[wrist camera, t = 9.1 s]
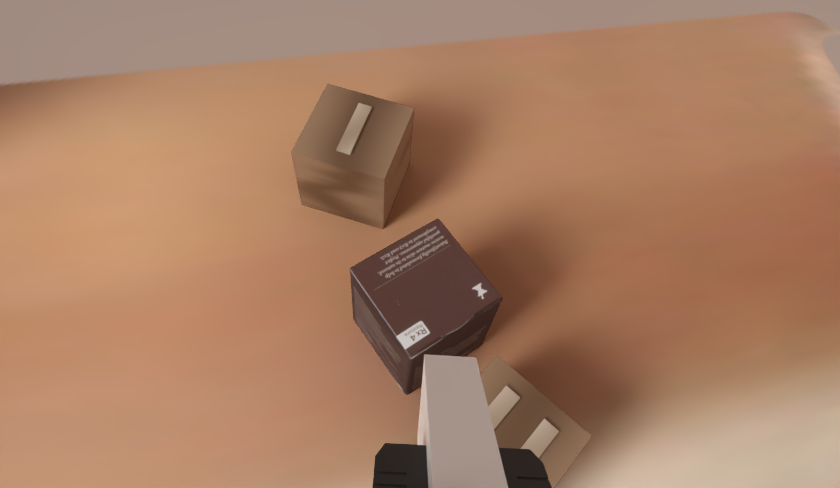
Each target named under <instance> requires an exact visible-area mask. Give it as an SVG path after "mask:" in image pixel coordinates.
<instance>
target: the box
mask: <svg viewBox="0 0 840 488" xmlns="http://www.w3.org/2000/svg"><path fill="white" fill-rule="evenodd" d="M350 274H351V290H352V303H353V318H354V321H355V322H356V324H357V325H358V327H359V328H360V329H361V331H362V332H363V334H364V335H365V337H366V338H367V340H368V341H369V342H370V344H371V345H372V347H373V348H374V350H375V351H376V353H377V354H378V355H379V357H380V358H381V360H382V361H383V363H384V364H385V366H386V367H387V369H388V370H389V372H390V373H391V375H392V376H393V377H394V379H395V381H396V382H397V384H398V385H399V387H400V388H401V389H402V391H403V392H404V393H405V394H406V395H407V394H409V393H411V392H412V391H414V390H415V389H417V388H418V387H420V386H421V385H422V376H423V364H424V354H427V355H444V356H461V357H464V356H466V355H467V354H469V353H470V352H472V351H473V350H475V349H476V348H478V347H479V346H481V345H482V343H483V341H484V338H485V336H486V334H487V332H488V330H489V328H490V325H491V323H492V321H493V318H494V316H495V314H496V312H497V310H498V307H499V304H500V302H501V301H502V296H501V295H500V294H499V293H498V292H497V290H496V289H495V288H494V287H493V285H492V284H491V283H490V282H489V280H488V279H487V278H486V277H485V276H484V274H483V273H482V272H481V271H480V269H479V268H478V267H477V266H476V265H475V263H474V262H473V261H472V260H471V258H470V257H469V256H468V255H467V253H466V252H465V251H464V250H463V248H462V247H461V246H460V244H459V243H458V242H457V241H456V239H455V238H454V237H453V236H452V235H451V233H450V232H449V231H448V229H447V228H446V227H445V226H444V225H443V223H442V222H441V221H440V220H439V219H436V220H434V221H432V222H430V223H429V224H427V225H425V226H423V227H421V228H420V229H418V230H416V231H414V232H412V233H411V234H409V235H407V236H405V237H404V238H402V239H400V240H398V241H397V242H395V243H393V244H391V245H389V246H388V247H386V248H384V249H383V250H381V251H379V252H377V253H376V254H374V255H372V256H370V257H368V258H367V259H365V260H363V261H361V262H360V263H358V264H356V265H355V266H353V267H351V268H350Z"/></svg>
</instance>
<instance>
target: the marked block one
mask: <svg viewBox="0 0 840 488" xmlns="http://www.w3.org/2000/svg"><path fill="white" fill-rule="evenodd" d="M413 116H414V108H412V107H409V106H405V105H402V104H398V103H394V102H391V101H387V100H384V99H380V98H377V97H373V96H370V95H366V94H362V93H359V92H355V91H352V90H348V89H345V88H341V87H337V86H334V85H330V84H327V86H326V88H325V89H324V91H323V93H322V95H321V97H320V99H319V101H318V103H317V104H316V106H315V108H314V110H313V112H312V114H311V116H310V118H309V119H308V121H307V123H306V125H305V127H304V129H303V131H302V133H301V135H300V136H299V138H298V140H297V142H296V144H295V146H294V148H293V150H292V151H291V153H292V158H293V163H294V168H295V173H296V178H297V184H298V189H299V194H300V199H301V204H302V205H304V206H308V207H311V208H314V209H318V210H321V211H324V212H327V213H331V214H334V215H337V216H341V217H344V218H347V219H351V220H354V221H357V222H361V223H364V224H367V225H371V226H374V227H377V228H381V229H383V228H384V226H385V223H386V221H387V218H388V216H389V213H390V211H391V208H392V206H393V203H394V201H395V198H396V196H397V193H398V191H399V188H400V186H401V183H402V181H403V178H404V176H405V173H406V171H407V168H408V166H409V163H410V151H411V139H412V128H413Z"/></svg>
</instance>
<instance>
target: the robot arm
mask: <svg viewBox="0 0 840 488" xmlns="http://www.w3.org/2000/svg"><path fill="white" fill-rule="evenodd" d="M417 441H418V445H409V444H390V443H385V444H384V445H383V447H382V448H381V449H380V451H379V452H378V453H377V455H376V456H375V467H374V479H373V488H552V487H551V484H550V481H549V480H548V475H547V472H546V470H545V467H544V464H543V462H542V461H541V460H540V459H539V458H538V457H537V456H536V455H535V454H534V453H533V452H532V451H531V450H530V449H515V448H498V444H497V440H496V436H495V432H494V428H493V424H492V420H491V416H490V412H489V408H488V404H487V400H486V396H485V392H484V388H483V383H482V379H481V375H480V371H479V367H478V363H477V359H476V357H461V356H444V355H427V354H424V364H423V376H422V388H421V400H420V412H419V424H418V436H417Z"/></svg>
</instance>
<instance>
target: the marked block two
mask: <svg viewBox="0 0 840 488" xmlns="http://www.w3.org/2000/svg"><path fill="white" fill-rule="evenodd" d="M480 375H481V379H482V383H483V388H484V392H485V396H486V400H487V404H488V408H489V412H490V416H491V420H492V424H493V428H494V432H495V436H496V440H497V444H498V448H515V449H530V450H531V451H532V452H533V453H534V454H535V455H536V456H537V457H538V458H539V459H540V460H541V461H542V462H543V464H544V467H545V470H546V472H547V475H548V480H549V481H550V484H551V487H552V488H554V487H555V486H556V484H557V483H558V482H559V480H560V479H561V478H562V476H563V475H564V474H565V472H566V471H567V470H568V468H569V467H570V465H571V464H572V463H573V461H574V460H575V459H576V457H577V456H578V455H579V453H580V452H581V451H582V449H583V448H584V446H585V445H586V444H587V442H588V441H589V440H590V438H591V437H592V436H591V435H590V434H589V433H588V432H587V431H586V430H584V429H583V428H582V427H581V426H580V425H579V424H577V423H576V422H575V421H574V420H573V419H572V418H570V417H569V416H568V415H567V414H566V413H564V412H563V411H562V410H561V409H560V408H559V407H557V406H556V405H555V404H554V403H553V402H552V401H550V400H549V399H548V398H547V397H546V396H545V395H543V394H542V393H541V392H540V391H539V390H538V389H536V388H535V387H534V386H533V385H532V384H531V383H529V382H528V381H527V380H526V379H525V378H524V377H522V376H521V375H520V374H519V373H518V372H517V371H515V370H514V369H513V368H512V367H511V366H509V365H508V364H507V363H506V362H505V361H504V360H502V359H501V358H500V357H499V356H498V355H497V356H496V357H495V358H494V359H493V360H492V361H491V363H490V364H489V365H488V366H487V367H486V368H485V369H484V370H483V372H482V373H481V374H480Z"/></svg>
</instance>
